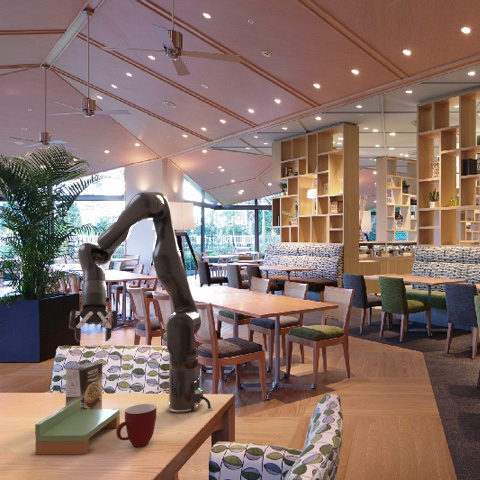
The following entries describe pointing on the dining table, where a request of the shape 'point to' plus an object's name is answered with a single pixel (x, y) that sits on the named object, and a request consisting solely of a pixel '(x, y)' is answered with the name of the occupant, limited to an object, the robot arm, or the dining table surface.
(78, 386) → the coffee box
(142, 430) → the mug
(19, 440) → the dining table surface
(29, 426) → the dining table surface
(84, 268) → the robot arm
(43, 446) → the shelf
